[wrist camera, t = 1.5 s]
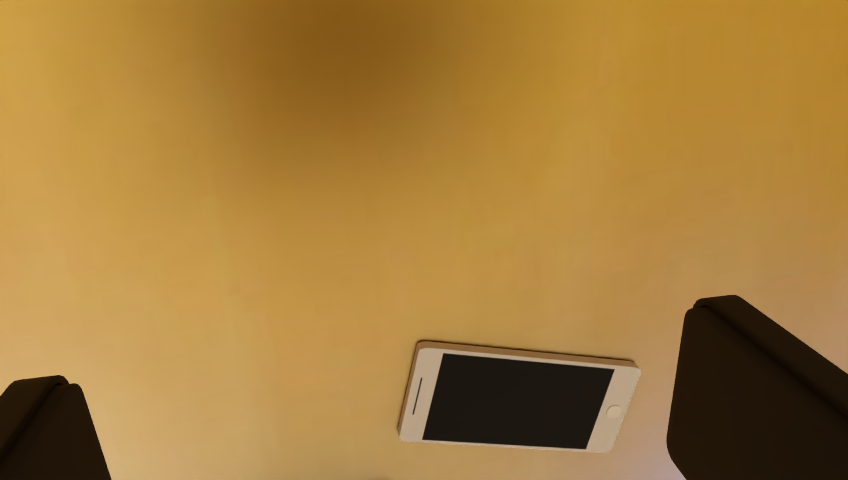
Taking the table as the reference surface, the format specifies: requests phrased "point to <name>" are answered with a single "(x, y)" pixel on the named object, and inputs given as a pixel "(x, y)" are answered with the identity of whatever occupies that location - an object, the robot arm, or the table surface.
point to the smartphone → (515, 398)
